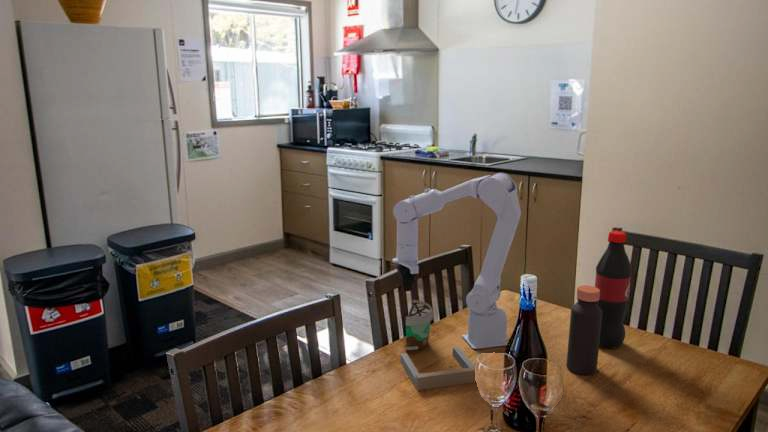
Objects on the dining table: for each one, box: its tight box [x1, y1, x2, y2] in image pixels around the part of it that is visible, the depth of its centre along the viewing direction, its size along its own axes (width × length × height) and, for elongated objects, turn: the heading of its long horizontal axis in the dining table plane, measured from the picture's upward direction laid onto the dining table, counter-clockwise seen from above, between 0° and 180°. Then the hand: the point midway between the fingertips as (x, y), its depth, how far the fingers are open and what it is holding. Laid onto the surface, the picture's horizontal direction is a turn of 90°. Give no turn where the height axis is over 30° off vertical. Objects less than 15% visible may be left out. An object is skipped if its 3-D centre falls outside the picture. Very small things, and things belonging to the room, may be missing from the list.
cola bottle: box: [594, 230, 633, 349], centre depth 140 cm, size 8×8×30 cm
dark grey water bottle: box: [566, 284, 602, 376], centre depth 129 cm, size 7×7×20 cm
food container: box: [405, 299, 435, 354], centre depth 142 cm, size 12×6×10 cm, turn 168°
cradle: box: [399, 346, 476, 391], centre depth 129 cm, size 15×14×3 cm
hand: (406, 290), depth 153 cm, fingers closed
